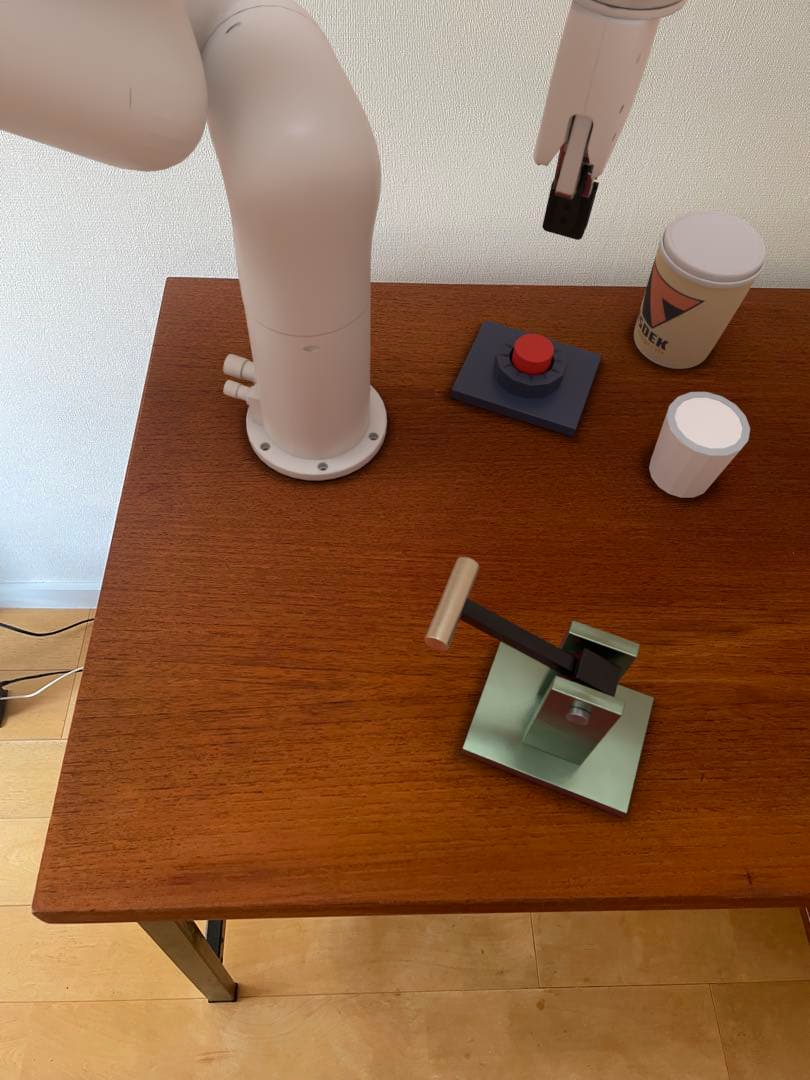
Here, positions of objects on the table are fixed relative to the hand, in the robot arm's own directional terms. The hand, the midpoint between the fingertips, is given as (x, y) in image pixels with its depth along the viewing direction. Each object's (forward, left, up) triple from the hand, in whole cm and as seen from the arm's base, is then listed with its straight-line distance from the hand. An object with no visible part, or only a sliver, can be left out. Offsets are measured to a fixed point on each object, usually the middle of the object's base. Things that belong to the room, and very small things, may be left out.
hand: (564, 228), depth 62 cm
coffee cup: (+12, +11, -17) cm, 24 cm away
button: (0, 0, -14) cm, 14 cm away
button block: (0, 0, -17) cm, 17 cm away
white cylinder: (+16, -5, -17) cm, 24 cm away
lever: (+7, -32, -7) cm, 33 cm away
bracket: (+12, -32, -17) cm, 38 cm away
